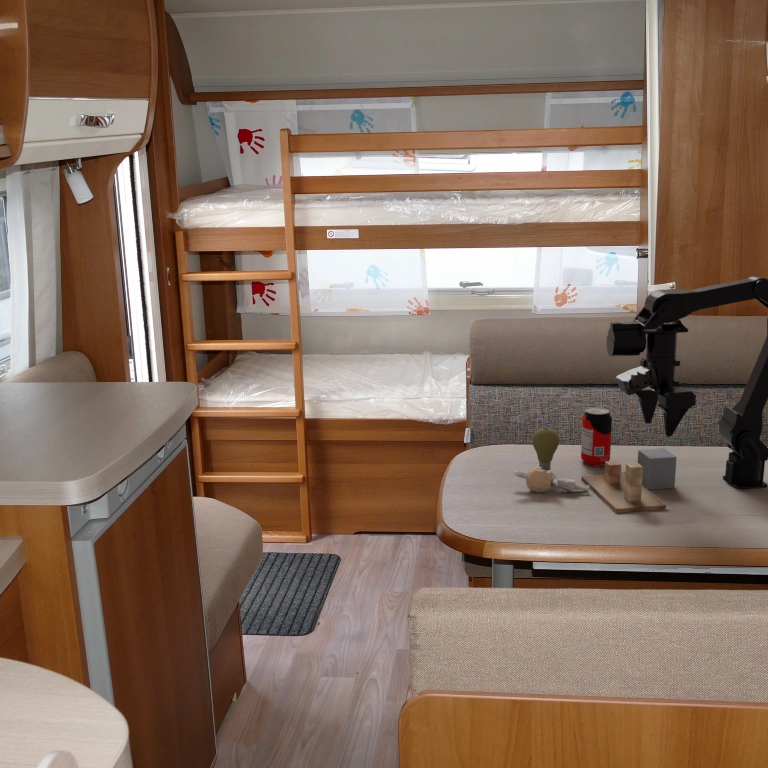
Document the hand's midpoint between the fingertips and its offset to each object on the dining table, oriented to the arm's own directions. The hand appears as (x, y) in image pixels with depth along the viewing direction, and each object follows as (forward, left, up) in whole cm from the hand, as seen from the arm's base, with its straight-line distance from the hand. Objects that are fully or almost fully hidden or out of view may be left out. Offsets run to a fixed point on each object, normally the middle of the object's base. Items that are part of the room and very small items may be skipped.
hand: (657, 429), depth 171 cm
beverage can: (+7, -15, -12) cm, 21 cm away
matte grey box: (0, 0, -12) cm, 12 cm away
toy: (+22, -1, -12) cm, 26 cm away
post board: (+9, +4, -12) cm, 15 cm away
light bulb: (+20, -11, -12) cm, 26 cm away
